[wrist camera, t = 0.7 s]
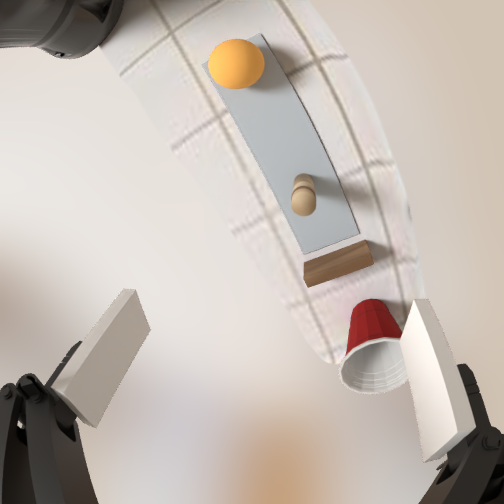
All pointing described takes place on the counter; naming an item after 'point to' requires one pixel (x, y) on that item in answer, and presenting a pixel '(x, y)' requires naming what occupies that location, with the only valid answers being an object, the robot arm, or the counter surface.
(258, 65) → the ball
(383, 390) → the plastic cup
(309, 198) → the pin
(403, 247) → the counter surface
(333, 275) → the board
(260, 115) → the lane mark
